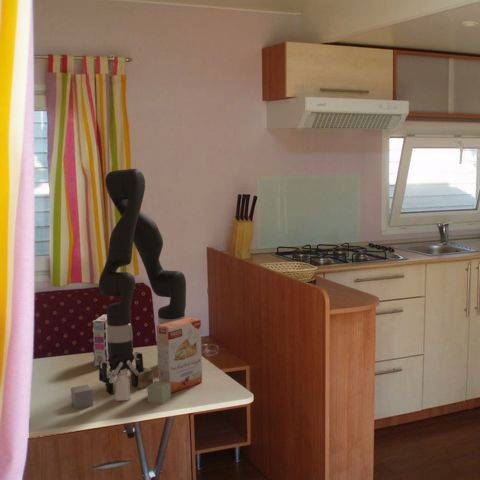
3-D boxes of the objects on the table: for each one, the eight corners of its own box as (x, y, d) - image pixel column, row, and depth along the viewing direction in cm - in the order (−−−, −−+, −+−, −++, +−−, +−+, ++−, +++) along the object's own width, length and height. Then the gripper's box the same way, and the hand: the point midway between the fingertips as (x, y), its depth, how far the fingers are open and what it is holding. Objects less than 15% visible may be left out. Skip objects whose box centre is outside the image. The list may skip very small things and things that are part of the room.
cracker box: (170, 394, 204) (168, 327, 201) (158, 390, 208) (155, 324, 205) (203, 382, 214) (201, 318, 211) (190, 378, 218) (188, 316, 215)
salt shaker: (115, 401, 199) (113, 370, 198) (117, 396, 203) (116, 366, 202) (128, 401, 199) (127, 370, 198) (130, 396, 203) (129, 366, 202)
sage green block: (156, 396, 202) (155, 380, 202) (170, 398, 200) (170, 382, 200) (148, 402, 198) (147, 386, 197) (162, 404, 196) (162, 388, 195)
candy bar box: (107, 367, 232) (105, 321, 230) (93, 367, 233) (91, 321, 231) (117, 357, 243) (115, 314, 241) (104, 357, 244) (102, 313, 242)
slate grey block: (88, 400, 201) (87, 384, 200) (92, 405, 196) (91, 389, 196) (71, 403, 198) (70, 387, 198) (75, 409, 194) (74, 392, 193)
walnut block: (142, 382, 216) (141, 367, 216) (153, 384, 213) (152, 369, 213) (131, 386, 212) (130, 371, 212) (142, 389, 209) (141, 373, 209)
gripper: (133, 331, 206) (135, 382, 208) (92, 340, 197) (95, 393, 199) (147, 335, 201) (149, 387, 203) (105, 345, 191) (108, 400, 193)
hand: (122, 390), depth 201 cm, fingers open, 8 cm apart
